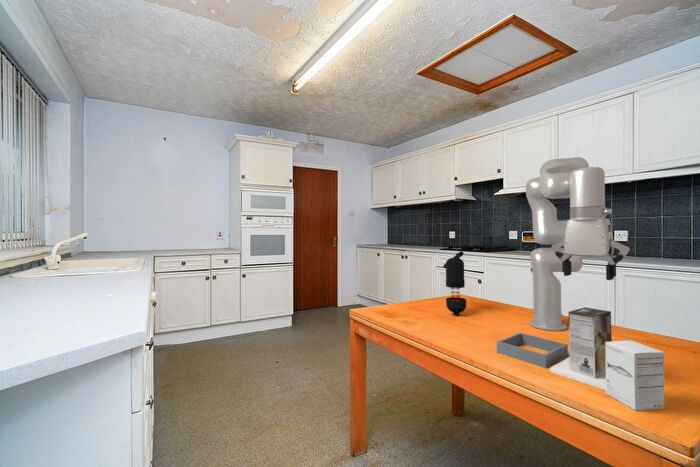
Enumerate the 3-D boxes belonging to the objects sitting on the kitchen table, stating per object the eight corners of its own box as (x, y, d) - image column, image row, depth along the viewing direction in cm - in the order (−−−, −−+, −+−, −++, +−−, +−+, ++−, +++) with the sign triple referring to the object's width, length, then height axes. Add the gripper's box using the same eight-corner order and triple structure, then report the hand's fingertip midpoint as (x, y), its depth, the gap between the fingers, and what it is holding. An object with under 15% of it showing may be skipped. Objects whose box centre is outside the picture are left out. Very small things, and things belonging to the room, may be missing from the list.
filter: (472, 317, 142) (471, 251, 142) (455, 319, 139) (454, 251, 139) (453, 310, 155) (452, 249, 155) (437, 312, 152) (436, 250, 152)
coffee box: (585, 362, 90) (584, 306, 90) (613, 370, 85) (612, 311, 84) (568, 369, 86) (567, 311, 86) (596, 379, 80) (595, 316, 80)
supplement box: (604, 394, 75) (603, 341, 75) (632, 392, 76) (632, 339, 75) (634, 411, 68) (634, 353, 68) (666, 409, 68) (665, 351, 68)
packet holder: (520, 342, 110) (520, 332, 110) (567, 355, 98) (567, 344, 98) (496, 352, 101) (496, 341, 101) (545, 368, 89) (545, 355, 89)
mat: (571, 359, 95) (571, 355, 95) (631, 376, 83) (631, 372, 83) (549, 371, 87) (549, 368, 87) (613, 392, 75) (613, 388, 75)
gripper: (633, 212, 80) (633, 279, 80) (557, 215, 94) (558, 272, 95) (623, 212, 76) (624, 283, 76) (546, 215, 90) (546, 275, 90)
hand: (587, 277), depth 85 cm, fingers open, 9 cm apart
